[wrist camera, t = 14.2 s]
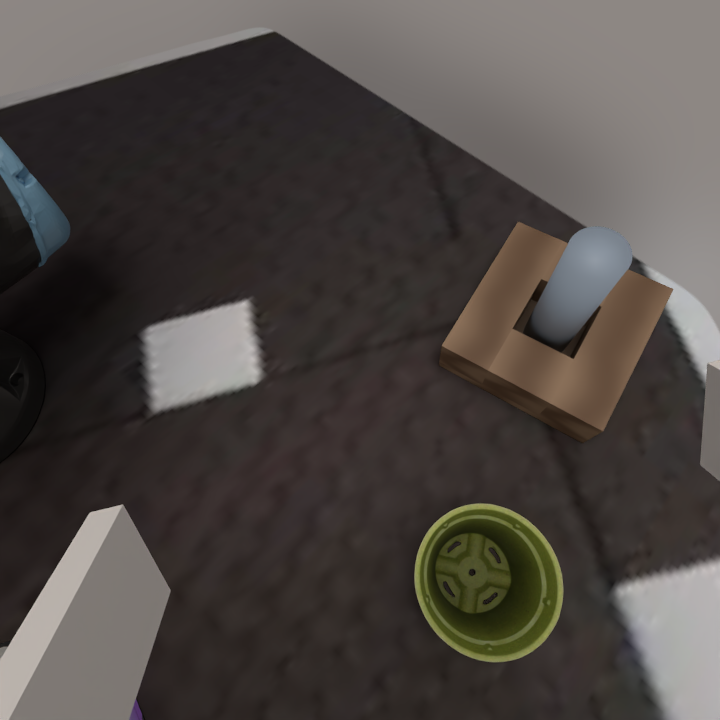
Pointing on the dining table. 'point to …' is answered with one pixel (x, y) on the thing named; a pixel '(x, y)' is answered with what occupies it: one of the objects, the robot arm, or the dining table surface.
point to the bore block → (539, 362)
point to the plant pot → (489, 583)
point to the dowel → (578, 285)
